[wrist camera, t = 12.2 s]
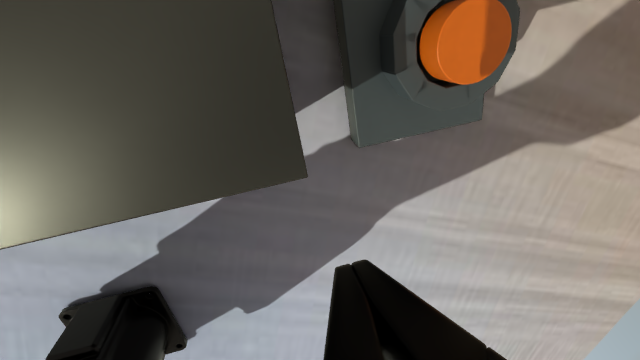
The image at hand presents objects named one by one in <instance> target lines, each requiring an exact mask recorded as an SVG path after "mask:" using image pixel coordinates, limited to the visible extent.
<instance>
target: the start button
mask: <svg viewBox="0 0 640 360" xmlns="http://www.w3.org/2000/svg"><path fill="white" fill-rule="evenodd" d="M511 33H512V27H511V20H510V16H509V14H508V12H507V10H506V8H505V7H504V5H503V4H502V3H501V2H499V1H498V0H455V1H451V2H448V3H446V4H444V5H442V6H441V7H440V8H438V9H437V10H436V11H435V12H434V13H433V14H432V15H431V16H430V18H429V19H428V21H427V22H426V24H425V26H424V28H423V31H422V33H421V37H420V43H419V54H420V59H421V62H422V64H423V66H424V68H425V69H426V71H427V72H428V73H429V74H430V75H431V76H433V77H435V78H437V79H440V80H444V81H448V82H452V83H457V84H462V85H468V84H473V83H477V82H479V81H481V80H483V79H485V78H486V77H488V76H489V75H490V74H491V73H493V72H494V71H495V70H496V68H497V67H498V66H499V65H500V63H501V62H502V60H503V59H504V57H505V55H506V53H507V51H508V48H509V45H510V41H511Z"/></svg>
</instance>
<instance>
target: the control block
mask: <svg viewBox="0 0 640 360" xmlns="http://www.w3.org/2000/svg"><path fill="white" fill-rule="evenodd" d="M333 1H334V9H335V17H336V25H337V32H338V40H339V48H340V56H341V63H342V71H343V79H344V87H345V95H346V102H347V110H348V118H349V126H350V134H351V140H352V141H353V142H354V143H355V144H356V145H357V146H358V147H359V148H361V147H365V146H370V145H374V144H378V143H383V142H387V141H392V140H396V139H400V138H405V137H409V136H413V135H418V134H422V133H427V132H431V131H435V130H440V129H444V128H448V127H453V126H457V125H461V124H466V123H470V122H475V121H479V120H482V113H483V100H484V93H485V92H486V91H487V90H488V89H490V88H491V87H492V86H493V85H495V84H496V82H498V81H499V79H500V77H501V75H502V73H503V72H504V70H505V68H506V66H507V64H508V62H509V61H510V59H511V57H512V55H513V53H514V52H515V50H516V49H515V48H516V42H517V34H518V25H519V16H520V11H519V10H520V8H519V6H518V3H517V0H498V1H499V2H501V3H502V4H503V5H504V7H505V8H506V10H507V12H508V14H509V16H510V20H511V27H512V33H511V41H510V45H509V48H508V51H507V53H506V55H505V57H504V59H503V60H502V62H501V63H500V65H499V66H498V67H497V68H496V70H495V71H494V72H493V73H491V74H490V75H489V76H488V77H486V78H485V79H483V80H481V81H479V82H477V83H473V84H468V85H462V84H457V83H452V82H448V81H444V80H440V79H437V78H435V77H433V76H431V75H430V74H429V73H428V72H427V71H426V69H425V68H424V66H423V64H422V62H421V59H420V54H419V43H420V37H421V33H422V31H423V28H424V26H425V24H426V22H427V21H428V19H429V18H430V16H431V15H432V14H433V13H434V12H435V11H436V10H437V9H438V8H440V7H441V6H442V5H444V4H446V3H448V2H451V1H455V0H333Z"/></svg>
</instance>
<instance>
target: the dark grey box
mask: <svg viewBox="0 0 640 360" xmlns="http://www.w3.org/2000/svg"><path fill="white" fill-rule="evenodd" d="M307 177H308V174H307V169H306V165H305V160H304V155H303V150H302V145H301V141H300V136H299V131H298V126H297V121H296V117H295V112H294V107H293V102H292V97H291V93H290V88H289V83H288V78H287V74H286V69H285V64H284V59H283V54H282V50H281V45H280V40H279V35H278V30H277V26H276V21H275V16H274V11H273V6H272V2H271V0H0V249H5V248H9V247H13V246H17V245H22V244H26V243H30V242H34V241H39V240H43V239H47V238H51V237H56V236H60V235H64V234H69V233H73V232H77V231H81V230H86V229H90V228H94V227H98V226H103V225H107V224H111V223H115V222H120V221H124V220H128V219H133V218H137V217H141V216H145V215H150V214H154V213H158V212H162V211H167V210H171V209H175V208H179V207H184V206H188V205H192V204H197V203H201V202H205V201H209V200H214V199H218V198H222V197H226V196H231V195H235V194H239V193H243V192H248V191H252V190H256V189H261V188H265V187H269V186H273V185H278V184H282V183H286V182H290V181H295V180H299V179H303V178H307Z"/></svg>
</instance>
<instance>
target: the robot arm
mask: <svg viewBox="0 0 640 360" xmlns="http://www.w3.org/2000/svg"><path fill="white" fill-rule="evenodd" d="M149 293H152V294H149ZM59 318H60V320H61V321H62V322H63V324H64V325H65V326H66V329H65V330H64V332H63V333H62V335H61V336H60V338H59V339H58V341H57V342H56V344H55V345H54V347H53V348H52V350H51V351H50V353H49V354H48V356H47V357H46V360H164V358H165V354H169V353H172V352H176V351H180V350H183V349H184V348H186V345H187V339H186V337H185V335H184V334H183V332H182V330H181V328H180V326H179V325H178V323H177V321H176V319H175V318H174V316H173V314H172V312H171V311H170V309H169V307H168V305H167V303H166V302H165V300H164V298H163V296H162V295H161V293H160V291H159V290H158V288H156V287H153V286H149V287H145V288H141V289H137V290H133V291H129V292H125V293H121V294H117V295H113V296H109V297H106V298H102V299H98V300H94V301H90V302H86V303H82V304H78V305H74V306H70V307H67V308H64V309H63V310H62V312H61V313H60V315H59ZM324 360H507V359H505V358H504V357H502V356H501V355H500V354H498V353H497V352H495V351H494V350H493V349H491V348H490V347H488V348H486V345H485V344H484V343H483V342H481V341H480V340H478V339H477V338H476V337H474V336H473V335H471V334H470V333H469V332H467V331H466V330H464V329H463V328H462V327H460V326H459V325H457V324H456V323H455V322H453V321H452V320H450V319H449V318H448V317H446V316H445V315H443V314H442V313H441V312H439V311H438V310H436V309H435V308H434V307H432V306H431V305H429V304H428V303H427V302H425V301H424V300H422V299H421V298H420V297H418V296H417V295H415V294H414V293H413V292H411V291H410V290H408V289H407V288H406V287H404V286H403V285H402V284H400V283H399V282H397V281H396V280H395V279H393V278H392V277H390V276H389V275H388V274H386V273H385V272H383V271H382V270H381V269H379V268H378V267H376V266H375V265H374V264H372V263H371V262H369V261H368V260H361V261H357V262H353V263H352V264H351V265H350V264H346V265H342V266H339V267H336V268H335V273H334V281H333V289H332V297H331V304H330V312H329V320H328V328H327V336H326V344H325V352H324Z"/></svg>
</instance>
